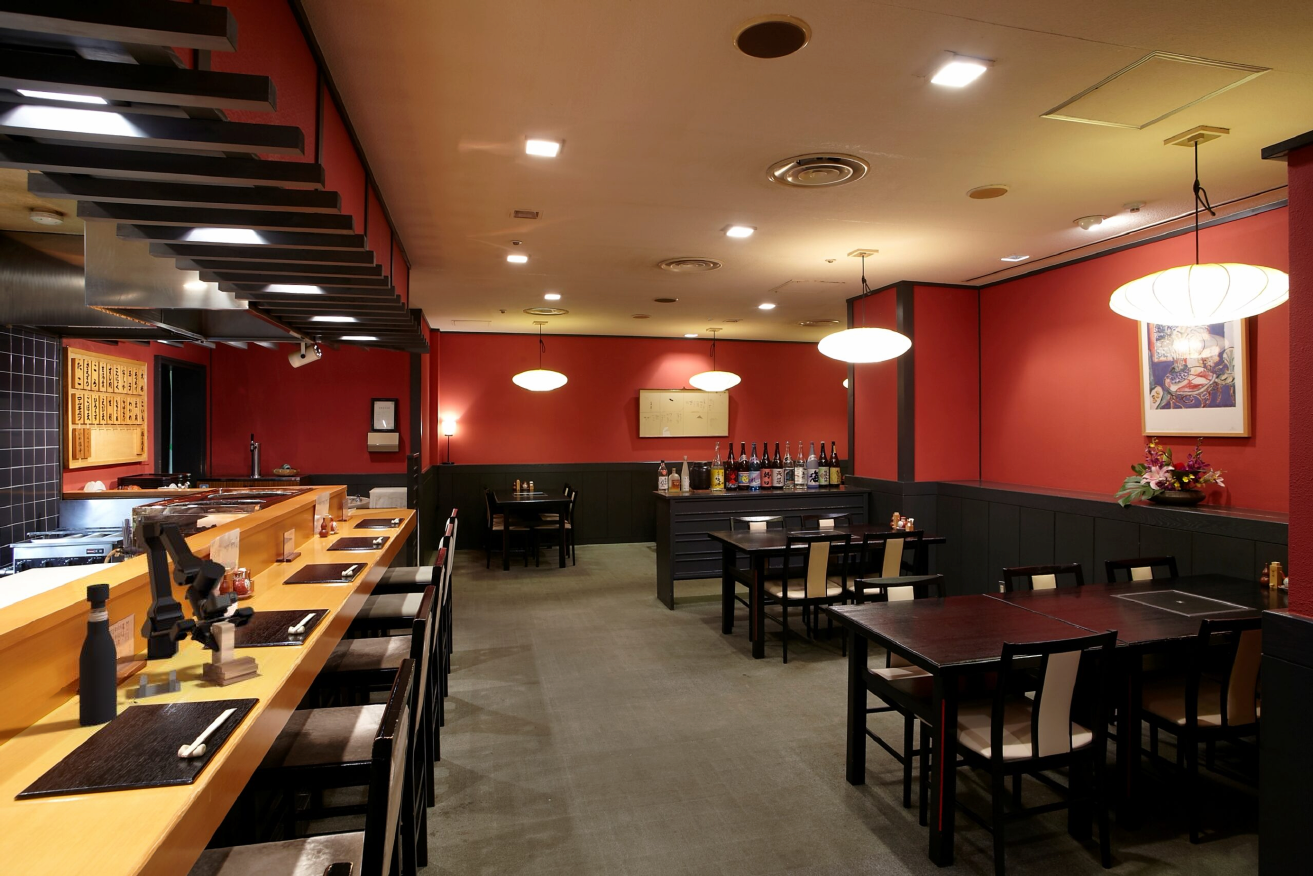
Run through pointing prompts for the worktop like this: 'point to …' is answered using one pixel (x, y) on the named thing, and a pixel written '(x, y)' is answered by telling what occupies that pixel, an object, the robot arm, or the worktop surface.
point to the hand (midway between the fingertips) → (225, 649)
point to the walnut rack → (210, 675)
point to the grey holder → (157, 687)
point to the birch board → (223, 642)
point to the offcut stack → (235, 670)
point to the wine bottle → (97, 664)
